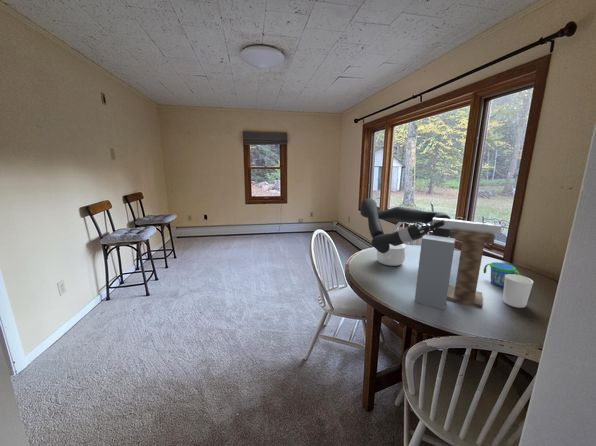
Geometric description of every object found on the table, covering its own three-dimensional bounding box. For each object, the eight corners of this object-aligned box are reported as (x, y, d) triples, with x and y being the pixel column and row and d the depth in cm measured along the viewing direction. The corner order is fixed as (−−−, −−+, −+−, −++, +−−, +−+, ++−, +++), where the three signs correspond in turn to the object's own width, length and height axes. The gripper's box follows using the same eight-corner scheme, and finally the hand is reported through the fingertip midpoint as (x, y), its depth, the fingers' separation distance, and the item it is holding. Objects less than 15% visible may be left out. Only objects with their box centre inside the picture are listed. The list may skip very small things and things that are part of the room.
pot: (384, 255, 180) (385, 238, 178) (410, 261, 169) (412, 243, 167) (369, 264, 164) (370, 245, 162) (396, 271, 153) (398, 251, 150)
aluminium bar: (431, 227, 125) (432, 218, 124) (432, 225, 128) (433, 217, 127) (500, 235, 111) (501, 226, 110) (499, 233, 114) (501, 224, 113)
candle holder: (494, 298, 124) (499, 274, 121) (514, 297, 125) (519, 273, 122) (513, 309, 114) (518, 283, 112) (534, 308, 115) (539, 283, 113)
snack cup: (522, 288, 134) (526, 269, 132) (511, 292, 130) (515, 273, 127) (489, 276, 148) (492, 259, 146) (477, 280, 143) (481, 262, 141)
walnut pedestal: (440, 297, 123) (450, 231, 116) (443, 286, 135) (452, 225, 128) (481, 308, 115) (494, 237, 108) (481, 295, 126) (493, 230, 119)
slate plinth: (414, 301, 120) (422, 238, 113) (417, 294, 126) (425, 234, 120) (444, 310, 113) (454, 243, 107) (446, 302, 120) (455, 238, 113)
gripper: (403, 229, 127) (439, 216, 118) (410, 224, 139) (442, 211, 129) (410, 243, 126) (446, 231, 117) (416, 237, 138) (449, 225, 129)
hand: (444, 221), depth 123 cm, fingers open, 7 cm apart
